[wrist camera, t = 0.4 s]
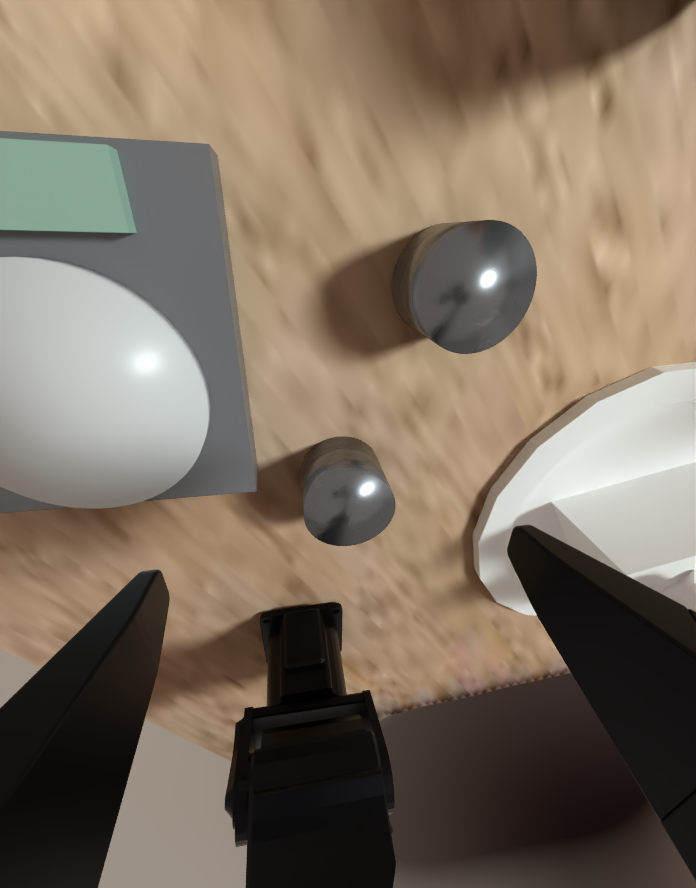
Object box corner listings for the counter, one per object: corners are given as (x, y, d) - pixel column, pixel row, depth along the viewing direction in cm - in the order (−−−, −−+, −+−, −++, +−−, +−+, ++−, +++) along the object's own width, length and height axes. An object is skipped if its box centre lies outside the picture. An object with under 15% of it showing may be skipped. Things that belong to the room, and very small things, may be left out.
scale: (258, 471, 21) (255, 502, 19) (-7, 491, 19) (-50, 530, 17) (217, 155, 14) (203, 137, 11) (-225, 129, 12) (-364, 100, 9)
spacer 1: (375, 498, 24) (391, 540, 21) (301, 504, 23) (305, 550, 20) (380, 433, 22) (399, 470, 18) (297, 438, 21) (302, 478, 18)
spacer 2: (476, 332, 19) (518, 352, 16) (388, 333, 19) (412, 355, 15) (497, 224, 17) (552, 222, 14) (396, 221, 16) (428, 217, 13)
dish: (522, 635, 38) (605, 772, 28) (419, 491, 25) (508, 651, 15) (755, 517, 34) (944, 629, 24) (773, 278, 21) (1182, 313, 12)
